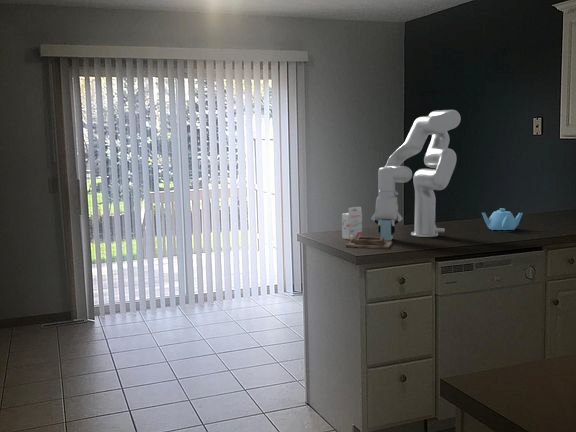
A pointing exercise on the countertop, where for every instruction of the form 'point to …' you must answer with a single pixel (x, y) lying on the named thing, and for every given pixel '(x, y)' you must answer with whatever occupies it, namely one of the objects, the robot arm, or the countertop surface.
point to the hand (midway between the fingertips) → (386, 233)
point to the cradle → (369, 242)
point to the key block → (386, 229)
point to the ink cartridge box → (352, 223)
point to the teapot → (502, 220)
